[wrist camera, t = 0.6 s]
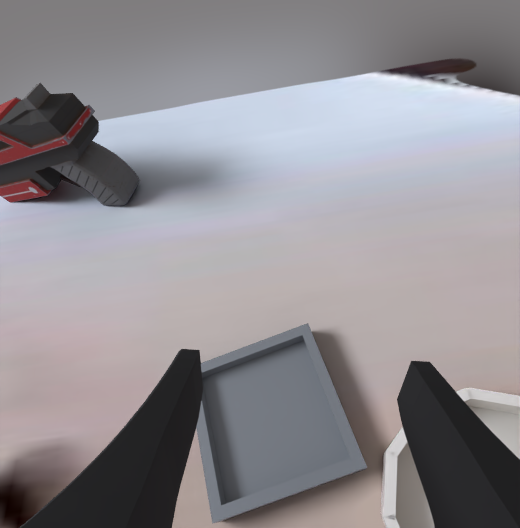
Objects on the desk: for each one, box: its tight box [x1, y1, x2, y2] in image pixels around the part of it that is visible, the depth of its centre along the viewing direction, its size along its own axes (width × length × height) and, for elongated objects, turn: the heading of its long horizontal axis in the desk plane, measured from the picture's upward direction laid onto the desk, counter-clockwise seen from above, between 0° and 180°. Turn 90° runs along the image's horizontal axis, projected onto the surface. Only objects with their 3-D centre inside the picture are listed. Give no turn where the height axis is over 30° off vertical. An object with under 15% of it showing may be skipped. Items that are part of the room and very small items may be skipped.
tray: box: [196, 323, 367, 523], centre depth 27 cm, size 11×11×2 cm
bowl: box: [381, 387, 520, 528], centre depth 21 cm, size 14×14×2 cm
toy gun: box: [0, 83, 139, 206], centre depth 45 cm, size 5×24×15 cm, turn 74°
